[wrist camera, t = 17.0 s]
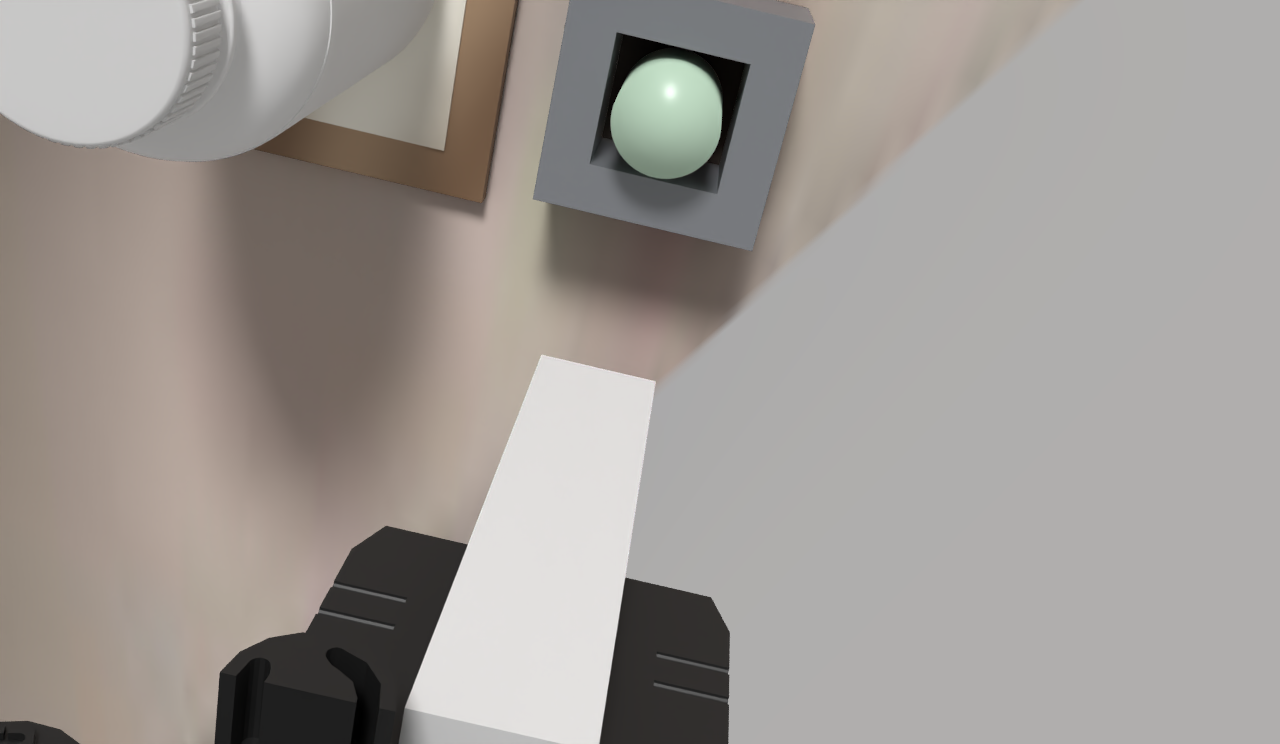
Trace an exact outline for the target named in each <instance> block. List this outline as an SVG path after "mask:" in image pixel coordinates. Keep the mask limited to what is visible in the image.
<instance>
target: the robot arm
mask: <svg viewBox="0 0 1280 744" xmlns="http://www.w3.org/2000/svg"><path fill="white" fill-rule="evenodd" d="M655 382H656V381H652V380H648V379H643V378H639V377H635V376H631V375H626V374H622V373H618V372H613V371H609V370H605V369H601V368H596V367H592V366H588V365H584V364H579V363H575V362H571V361H567V360H562V359H558V358H554V357H549V356H545V355H541V357H540V360H539V362H538V365H537V368H536V370H535V373H534V375H533V378H532V381H531V383H530V386H529V388H528V391H527V393H526V396H525V399H524V401H523V404H522V406H521V409H520V412H519V414H518V417H517V419H516V422H515V424H514V427H513V430H512V432H511V435H510V437H509V440H508V443H507V445H506V448H505V450H504V453H503V455H502V458H501V461H500V463H499V466H498V468H497V471H496V473H495V476H494V479H493V481H492V484H491V486H490V489H489V492H488V494H487V497H486V499H485V502H484V504H483V507H482V510H481V512H480V515H479V517H478V520H477V523H476V525H475V528H474V530H473V533H472V535H471V538H470V541H469V543H468V545H467V544H463V543H458V542H454V541H450V540H445V539H441V538H437V537H432V536H428V535H424V534H419V533H415V532H411V531H406V530H402V529H398V528H393V527H389V526H385V527H384V528H382V529H381V530H379V531H378V532H376V533H375V534H373V535H372V536H370V537H369V538H367V539H366V540H364V541H363V542H361V543H360V544H358V545H357V546H355V547H354V548H353V549H352V550H351V551H350V553H349V555H348V557H347V559H346V560H345V562H344V564H343V566H342V568H341V570H340V571H339V573H338V575H337V577H336V579H335V580H334V584H333V587H331V588H330V590H329V591H328V593H327V595H326V597H325V599H324V600H323V602H322V604H321V606H320V609H319V612H318V614H316V615H315V617H314V619H313V621H312V622H311V624H310V626H309V628H308V630H307V631H306V633H303V632H302V633H296V634H290V635H284V636H278V637H272V638H268V639H266V640H264V641H262V642H260V643H257V644H255V645H253V646H251V647H249V648H247V649H245V650H243V651H240V652H239V653H238V654H237V655H236V656H235V657H234V658H233V659H232V660H231V661H230V662H229V663H228V664H227V665H226V667H225V668H224V669H223V670H222V671H221V672H220V678H219V691H218V704H217V718H216V731H215V744H728V727H729V721H728V720H729V705H728V698H729V675H728V671H729V646H730V644H729V643H730V642H729V641H730V633H729V630H728V628H727V626H726V625H725V623H724V621H723V619H722V617H721V615H720V613H719V612H718V610H717V608H716V606H715V604H714V602H713V600H712V599H711V597H707V596H703V595H698V594H694V593H690V592H685V591H681V590H677V589H672V588H668V587H664V586H659V585H655V584H651V583H646V582H642V581H638V580H633V579H629V578H625V575H626V568H627V562H628V556H629V549H630V543H631V536H632V529H633V523H634V517H635V510H636V504H637V498H638V492H639V485H640V479H641V472H642V466H643V459H644V452H645V447H646V440H647V433H648V427H649V421H650V415H651V408H652V402H653V395H654V389H655ZM0 744H79V743H78V742H77V741H75V740H74V739H73V738H71V737H70V736H68V735H67V734H66V733H64V732H63V731H62V730H60V729H57V728H53V727H49V726H45V725H41V724H37V723H33V722H30V721H12V722H0Z"/></svg>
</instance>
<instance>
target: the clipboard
mask: <svg viewBox="0 0 1280 744" xmlns="http://www.w3.org/2000/svg"><path fill="white" fill-rule="evenodd" d="M517 4H518V0H435V1H434V3H433V6H432V8H431V11H430V13H429V15H428V17H427V19H426V20H425V22H424V24H423V25H422V27H421V28H420V30H419V31H418V33H417V34H416V35H415V37H414V38H413V39H412V41H411V42H410V43H409V44H408V45H407V46H406V47H405V48H404V49H403V50H402V51H401V52H400V53H399V54H398V55H397V56H395V57H394V58H393V59H391V60H390V61H388V62H387V63H385V64H384V65H382V66H381V67H379V68H378V69H376V70H375V71H373V72H372V73H370V74H369V75H367V76H366V77H365V78H363V79H362V80H360V81H359V82H357V83H356V84H354V85H353V86H351V87H350V88H348V89H347V90H345V91H344V92H342V93H341V94H339V95H338V96H336V97H335V98H333V99H332V100H330V101H329V102H327V103H326V104H324V105H323V106H321V107H320V108H318V109H317V110H315V111H314V112H312V113H311V114H309V115H308V116H306V117H305V118H303V119H302V120H300V121H299V122H297V123H296V124H294V125H293V126H291V127H290V128H288V129H287V130H285V131H284V132H282V133H281V134H279V135H278V136H276V137H274V138H273V139H271V140H269V141H268V142H266V143H264V144H262V145H260V146H258V147H256V148H254V149H255V150H260V151H264V152H268V153H272V154H277V155H281V156H285V157H289V158H293V159H298V160H302V161H306V162H310V163H315V164H319V165H323V166H327V167H331V168H336V169H340V170H344V171H348V172H353V173H357V174H361V175H365V176H369V177H374V178H378V179H382V180H386V181H391V182H395V183H399V184H403V185H407V186H412V187H416V188H420V189H424V190H429V191H433V192H437V193H441V194H445V195H450V196H454V197H458V198H462V199H466V200H471V201H475V202H479V203H482V202H483V200H484V199H485V196H486V190H487V184H488V178H489V172H490V166H491V160H492V154H493V148H494V142H495V136H496V130H497V124H498V118H499V112H500V106H501V100H502V94H503V88H504V82H505V76H506V70H507V64H508V58H509V52H510V46H511V40H512V34H513V28H514V22H515V16H516V10H517Z"/></svg>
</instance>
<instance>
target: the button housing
mask: <svg viewBox="0 0 1280 744" xmlns="http://www.w3.org/2000/svg"><path fill="white" fill-rule="evenodd" d="M814 27H815V23H814V20H813V18H812V15H811V13H810V11H809V8H805V7H801V6H797V5H793V4H788V3H784V2H780V1H776V0H570V2H569V7H568V13H567V18H566V23H565V29H564V34H563V39H562V45H561V50H560V56H559V61H558V66H557V72H556V77H555V83H554V88H553V93H552V99H551V104H550V110H549V115H548V120H547V126H546V131H545V137H544V142H543V147H542V153H541V158H540V164H539V169H538V174H537V180H536V185H535V190H534V196H533V199H534V200H539V201H543V202H547V203H551V204H555V205H560V206H564V207H568V208H572V209H576V210H581V211H585V212H589V213H593V214H598V215H602V216H606V217H610V218H614V219H619V220H623V221H627V222H631V223H635V224H640V225H644V226H648V227H652V228H657V229H661V230H665V231H669V232H673V233H678V234H682V235H686V236H690V237H695V238H699V239H703V240H707V241H711V242H716V243H720V244H724V245H728V246H732V247H737V248H741V249H745V250H749V251H752V250H753V246H754V243H755V239H756V235H757V232H758V228H759V225H760V221H761V217H762V214H763V210H764V207H765V203H766V200H767V196H768V192H769V189H770V185H771V182H772V178H773V174H774V171H775V167H776V164H777V160H778V156H779V153H780V149H781V146H782V142H783V138H784V135H785V131H786V128H787V124H788V121H789V117H790V113H791V110H792V106H793V103H794V99H795V95H796V92H797V88H798V85H799V81H800V77H801V74H802V70H803V67H804V63H805V59H806V56H807V52H808V49H809V45H810V41H811V38H812V34H813V31H814ZM623 34H627V35H631V36H635V37H639V38H643V39H647V40H651V41H656V42H660V43H664V44H668V45H672V46H676V47H681V48H685V49H689V50H693V51H697V52H701V53H705V54H710V55H714V56H718V57H722V58H726V59H730V60H735V61H739V62H743V63H745V65H744V69H743V73H742V77H741V81H740V85H739V89H738V93H737V97H736V100H735V104H734V108H733V112H732V116H731V120H730V124H729V128H728V132H727V136H726V140H725V143H724V147H723V151H722V155H721V159H720V163H719V165H716V164H712V163H708V162H706V163H705V164H703V165H702V166H701V167H700V168H699V169H697V170H696V171H694V172H692V173H690V174H688V175H685V176H683V177H678V178H673V179H660V178H654V177H650V176H647V175H645V174H643V173H640V172H639V171H637V170H636V169H634V168H633V167H631V166H630V165H629V164H628V163H627V162H626V161H625V160H624V159H623V157H622V156H621V155H620V153H619V152H618V150H617V148H616V146H615V143H614V141H613V140H611V139H607V138H603V137H602V135H603V130H604V126H605V121H606V116H607V111H608V106H609V101H610V97H611V92H612V87H613V82H614V77H615V73H616V68H617V63H618V58H619V53H620V49H621V44H622V39H623Z"/></svg>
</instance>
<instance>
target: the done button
mask: <svg viewBox="0 0 1280 744" xmlns="http://www.w3.org/2000/svg"><path fill="white" fill-rule="evenodd" d="M722 108H723V92H722V87H721V83H720V81H719V78H718V76H717V74H716V72H715V71H714V69H713V68H712V67H711V66H710V64H709V63H708V62H707V61H706V60H704V59H703V58H702V57H700V56H699V55H697V54H695V53H693V52H691V51H688V50H685V49H680V48H664V49H660V50H656V51H654V52H651V53H649V54H647V55H646V56H644V57H643V58H641V59H640V60H639V61H638V62H637V63H636V64H635V65H634V66H633V67H632V69H631V70H630V72H629V73H628V75H627V77H626V79H625V81H624V83H623V85H622V88H621V90H620V92H619V94H618V96H617V98H616V100H615V103H614V105H613V109H612V113H611V134H612V137H613V141H614V143H615V146H616V148H617V150H618V152H619V153H620V155H621V156H622V157H623V159H624V160H625V161H626V162H627V163H628V164H629V165H630V166H631V167H633V168H634V169H636V170H637V171H639V172H640V173H643V174H645V175H647V176H650V177H654V178H660V179H673V178H678V177H683V176H685V175H688V174H690V173H692V172H694V171H696V170H697V169H699V168H700V167H701V166H702V165H703V164H705V163H706V162H707V160H708V159H709V158H710V157H711V155H712V154H713V152H714V151H715V149H716V147H717V144H718V141H719V138H720V133H721V124H722Z"/></svg>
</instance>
